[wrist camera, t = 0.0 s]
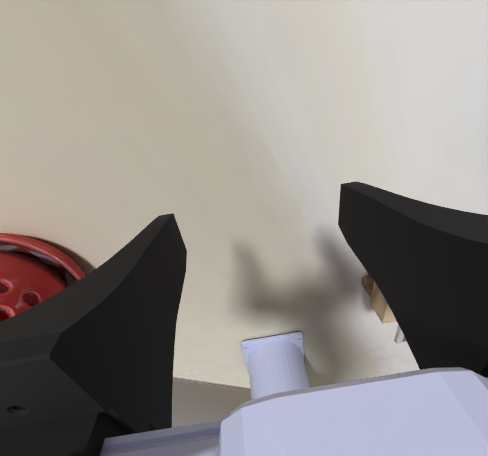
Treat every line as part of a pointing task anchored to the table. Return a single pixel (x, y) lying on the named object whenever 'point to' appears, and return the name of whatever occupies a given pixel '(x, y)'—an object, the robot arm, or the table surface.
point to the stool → (378, 300)
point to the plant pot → (31, 273)
